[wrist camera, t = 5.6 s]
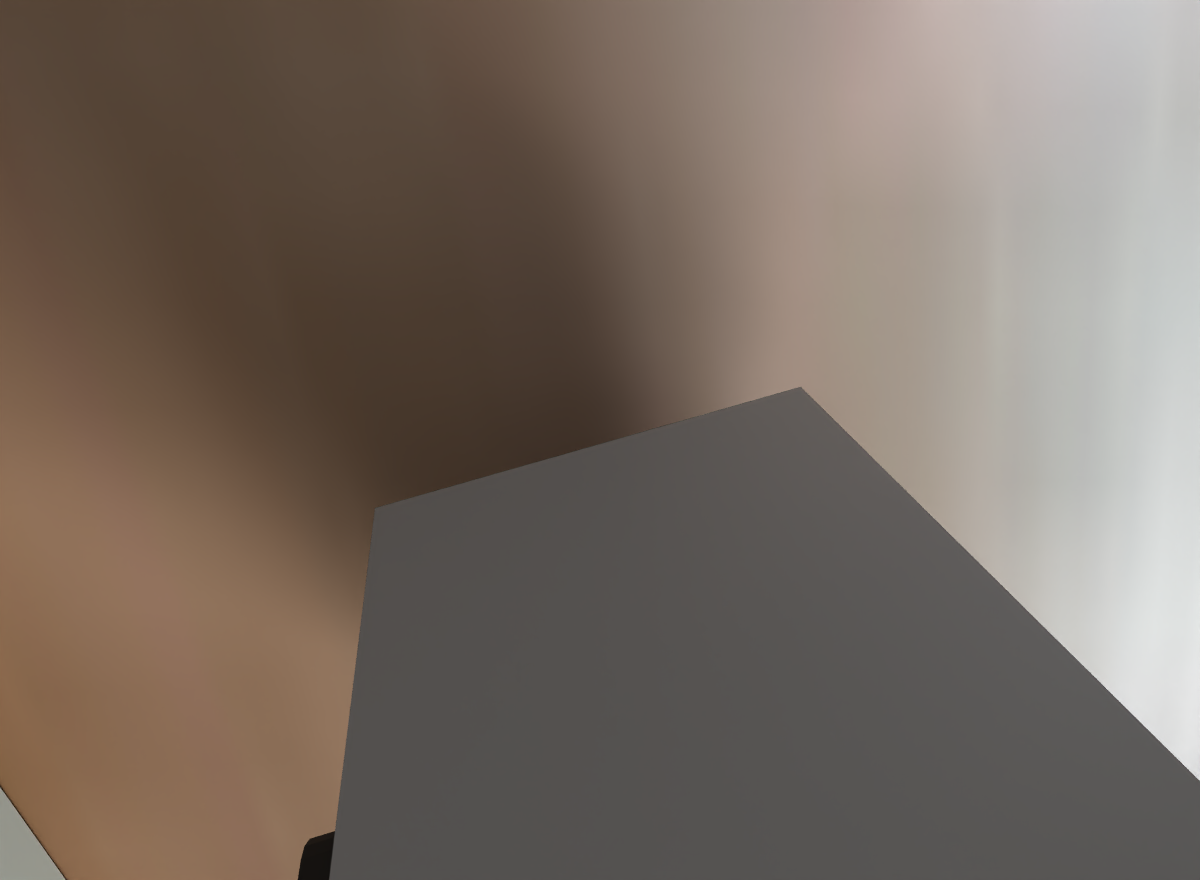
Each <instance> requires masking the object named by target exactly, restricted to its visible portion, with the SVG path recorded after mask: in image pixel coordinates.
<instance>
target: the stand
mask: <svg viewBox="0 0 1200 880" xmlns="http://www.w3.org/2000/svg"><path fill="white" fill-rule="evenodd" d="M0 880H65V878H64V877H63V875H62V874H61V873H60V871H59V870H58V868H57V867H56V866H55V864H54V863H53V861H52V860H51V858H50V857H49V856H48V854H47V853H46V851H45V850H44V849H43V847H42V846H41V844H40V843H39V841H38V840H37V839H36V837H35V836H34V834H33V833H32V832H31V830H30V829H29V827H28V826H27V825H26V823H25V822H24V820H23V819H22V817H21V816H20V815H19V813H18V812H17V810H16V809H15V808H14V806H13V805H12V803H11V802H10V800H9V799H8V798H7V796H6V795H5V793H4V792H3V791H2V789H1V788H0Z"/></svg>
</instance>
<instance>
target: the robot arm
mask: <svg viewBox="0 0 1200 880" xmlns="http://www.w3.org/2000/svg"><path fill="white" fill-rule="evenodd" d="M334 836H335V831H334V832H331V833H327V834H324V835H321V836H317V837H314V838H311V839H309V841H308V842H307V843H306V845H305V847H304V850H303V854H302V858H301V863H300V869H299V875H298V880H329V877H330V869H331V861H332V853H333V844H334Z"/></svg>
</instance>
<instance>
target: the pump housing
mask: <svg viewBox="0 0 1200 880" xmlns="http://www.w3.org/2000/svg"><path fill="white" fill-rule="evenodd" d="M329 880H1200V781H1199V780H1198V779H1197V778H1196V777H1195V776H1194V775H1193V774H1192V773H1191V772H1190V771H1189V770H1188V769H1187V768H1186V767H1185V766H1184V765H1183V764H1182V763H1181V762H1180V761H1179V760H1178V759H1177V758H1176V757H1175V756H1174V755H1173V754H1172V753H1171V752H1170V751H1169V750H1168V749H1167V748H1166V747H1165V746H1164V745H1163V744H1162V743H1161V742H1160V741H1159V740H1158V739H1157V738H1156V737H1155V736H1154V735H1153V734H1152V733H1151V732H1150V731H1149V730H1148V729H1146V728H1145V727H1144V726H1143V725H1142V724H1141V723H1140V722H1139V721H1138V720H1137V719H1136V718H1135V717H1134V716H1133V715H1132V714H1131V713H1130V712H1129V711H1128V710H1127V709H1126V708H1125V707H1124V706H1123V705H1122V704H1121V703H1120V702H1119V701H1118V700H1117V699H1116V698H1115V697H1114V696H1113V695H1112V694H1111V693H1110V692H1109V691H1108V690H1107V689H1106V688H1105V687H1104V686H1103V685H1102V684H1101V683H1100V682H1099V681H1098V680H1097V679H1096V678H1095V677H1094V676H1093V675H1092V674H1091V673H1090V672H1089V671H1088V670H1087V669H1086V668H1085V667H1084V666H1083V665H1082V664H1081V663H1080V662H1079V661H1078V660H1077V659H1076V658H1075V657H1074V656H1073V655H1072V654H1071V653H1070V652H1069V651H1068V650H1067V649H1066V648H1065V647H1063V646H1062V645H1061V644H1060V643H1059V642H1058V641H1057V640H1056V639H1055V638H1054V637H1053V636H1052V635H1051V634H1050V633H1049V632H1048V631H1047V630H1046V629H1045V628H1044V627H1043V626H1042V625H1041V624H1040V623H1039V622H1038V621H1037V620H1036V619H1035V618H1034V617H1033V616H1032V615H1031V614H1030V613H1029V612H1028V611H1027V610H1026V609H1025V608H1024V607H1023V606H1022V605H1021V604H1020V603H1019V602H1018V601H1017V600H1016V599H1015V598H1014V597H1013V596H1012V595H1011V594H1010V593H1009V592H1008V591H1007V590H1006V589H1005V588H1004V587H1003V586H1002V585H1001V584H1000V583H999V582H998V581H997V580H996V579H995V578H994V577H993V576H992V575H991V574H990V573H989V572H988V571H987V570H986V569H985V568H984V567H983V566H982V565H980V564H979V563H978V562H977V561H976V560H975V559H974V558H973V557H972V556H971V555H970V554H969V553H968V552H967V551H966V550H965V549H964V548H963V547H962V546H961V545H960V544H959V543H958V542H957V541H956V540H955V539H954V538H953V537H952V536H951V535H950V534H949V533H948V532H947V531H946V530H945V529H944V528H943V527H942V526H941V525H940V524H939V523H938V522H937V521H936V520H935V519H934V518H933V517H932V516H931V515H930V514H929V513H928V512H927V511H926V510H925V509H924V508H923V507H922V506H921V505H920V504H919V503H918V502H917V501H916V500H915V499H914V498H913V497H912V496H911V495H910V494H909V493H908V492H907V491H906V490H905V489H904V488H903V487H902V486H901V485H900V484H899V483H897V482H896V481H895V480H894V479H893V478H892V477H891V476H890V475H889V474H888V473H887V472H886V471H885V470H884V469H883V468H882V467H881V466H880V465H879V464H878V463H877V462H876V461H875V460H874V459H873V458H872V457H871V456H870V455H869V454H868V453H867V452H866V451H865V450H864V449H863V448H862V447H861V446H860V445H859V444H858V443H857V442H856V441H855V440H854V439H853V438H852V437H851V436H850V435H849V434H848V433H847V432H846V431H845V430H844V429H843V428H842V427H841V426H840V425H839V424H838V423H837V422H836V421H835V420H834V419H833V418H832V417H831V416H830V415H829V414H828V413H827V412H826V411H825V410H824V409H823V408H822V407H821V406H820V405H819V404H818V403H817V402H816V401H814V400H813V399H812V398H811V397H810V396H809V395H808V394H807V393H806V392H805V391H804V390H803V389H802V388H801V387H799V388H795V389H791V390H788V391H784V392H781V393H777V394H774V395H770V396H767V397H763V398H760V399H756V400H753V401H749V402H746V403H742V404H739V405H735V406H732V407H728V408H725V409H721V410H718V411H714V412H711V413H707V414H704V415H700V416H697V417H693V418H690V419H686V420H683V421H679V422H676V423H672V424H669V425H665V426H662V427H658V428H654V429H651V430H647V431H644V432H640V433H637V434H633V435H630V436H626V437H623V438H619V439H616V440H612V441H609V442H605V443H602V444H598V445H595V446H591V447H588V448H584V449H581V450H577V451H574V452H570V453H567V454H563V455H560V456H556V457H553V458H549V459H546V460H542V461H539V462H535V463H532V464H528V465H524V466H521V467H517V468H514V469H510V470H507V471H503V472H500V473H496V474H493V475H489V476H486V477H482V478H479V479H475V480H472V481H468V482H465V483H461V484H458V485H454V486H451V487H447V488H444V489H440V490H437V491H433V492H430V493H426V494H423V495H419V496H416V497H412V498H409V499H405V500H402V501H398V502H395V503H391V504H387V505H384V506H380V507H377V508H375V513H374V521H373V529H372V537H371V545H370V553H369V561H368V569H367V578H366V586H365V594H364V602H363V610H362V618H361V626H360V634H359V642H358V650H357V658H356V667H355V675H354V683H353V691H352V699H351V707H350V715H349V723H348V731H347V739H346V747H345V755H344V764H343V772H342V780H341V788H340V796H339V804H338V812H337V820H336V828H335V836H334V844H333V853H332V861H331V869H330V877H329Z"/></svg>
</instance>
